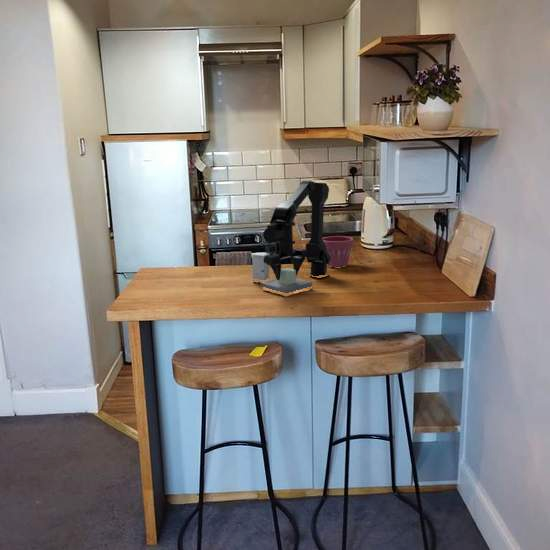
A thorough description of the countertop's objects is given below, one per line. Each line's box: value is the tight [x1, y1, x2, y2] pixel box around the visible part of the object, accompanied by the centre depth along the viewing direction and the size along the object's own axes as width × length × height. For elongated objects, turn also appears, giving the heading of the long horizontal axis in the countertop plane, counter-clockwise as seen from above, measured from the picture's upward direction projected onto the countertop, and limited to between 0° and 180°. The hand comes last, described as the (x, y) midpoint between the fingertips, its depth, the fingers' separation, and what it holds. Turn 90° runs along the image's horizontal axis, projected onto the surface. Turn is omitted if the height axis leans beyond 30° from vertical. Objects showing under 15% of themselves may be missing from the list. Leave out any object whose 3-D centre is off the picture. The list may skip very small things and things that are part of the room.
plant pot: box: [323, 235, 354, 267], centre depth 261 cm, size 14×14×13 cm
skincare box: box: [251, 252, 270, 280], centre depth 239 cm, size 6×4×12 cm
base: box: [261, 277, 313, 293], centre depth 227 cm, size 14×14×3 cm
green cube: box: [278, 267, 297, 285], centre depth 226 cm, size 5×5×5 cm
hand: (286, 277), depth 227 cm, fingers open, 9 cm apart
